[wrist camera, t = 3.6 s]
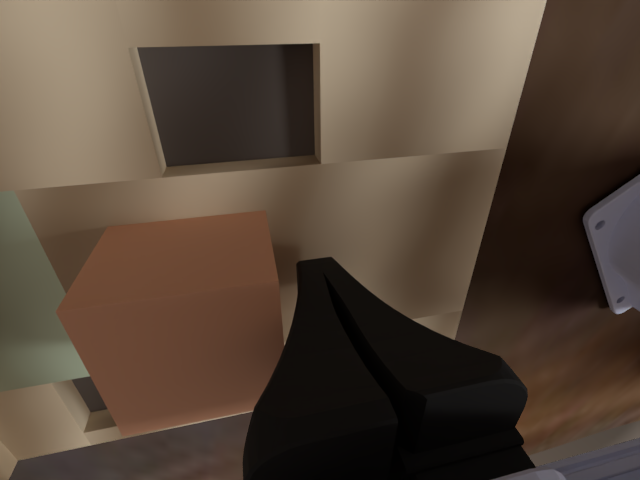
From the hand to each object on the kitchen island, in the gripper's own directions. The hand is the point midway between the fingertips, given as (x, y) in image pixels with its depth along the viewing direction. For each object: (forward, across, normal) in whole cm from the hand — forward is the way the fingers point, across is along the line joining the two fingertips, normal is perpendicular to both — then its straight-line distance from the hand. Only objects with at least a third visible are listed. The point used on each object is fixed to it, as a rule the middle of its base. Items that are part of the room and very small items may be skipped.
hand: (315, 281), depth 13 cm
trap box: (+2, +4, 0) cm, 4 cm away
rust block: (+1, +4, 0) cm, 4 cm away
